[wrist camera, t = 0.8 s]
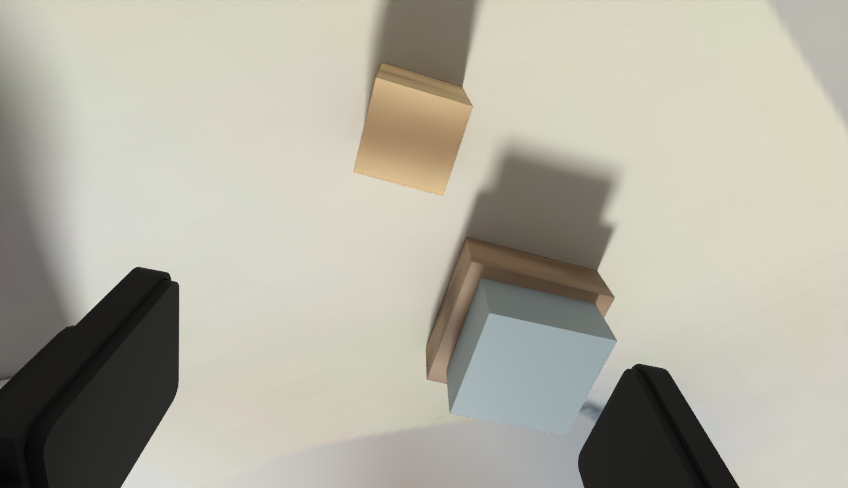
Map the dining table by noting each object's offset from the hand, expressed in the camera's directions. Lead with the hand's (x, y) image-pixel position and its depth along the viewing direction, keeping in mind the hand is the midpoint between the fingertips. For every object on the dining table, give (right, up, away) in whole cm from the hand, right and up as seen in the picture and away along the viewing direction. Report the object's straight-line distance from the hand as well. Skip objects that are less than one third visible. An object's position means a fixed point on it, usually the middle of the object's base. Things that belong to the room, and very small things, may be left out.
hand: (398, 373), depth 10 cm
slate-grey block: (+7, -4, +24) cm, 25 cm away
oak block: (0, +11, +21) cm, 23 cm away
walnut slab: (+7, -2, +28) cm, 29 cm away
